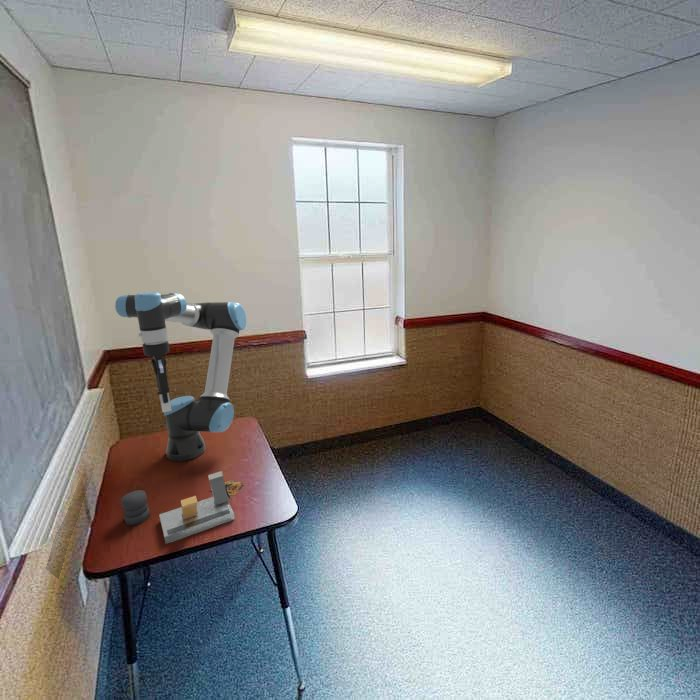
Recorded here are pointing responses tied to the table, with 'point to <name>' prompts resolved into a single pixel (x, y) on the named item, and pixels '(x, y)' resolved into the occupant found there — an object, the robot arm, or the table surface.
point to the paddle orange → (189, 507)
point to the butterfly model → (233, 487)
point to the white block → (218, 488)
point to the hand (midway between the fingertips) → (166, 410)
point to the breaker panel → (195, 519)
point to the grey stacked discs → (135, 507)
